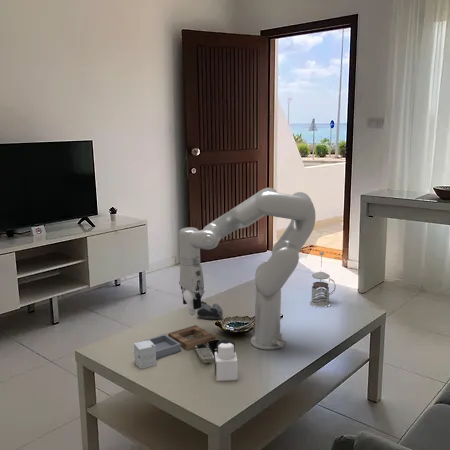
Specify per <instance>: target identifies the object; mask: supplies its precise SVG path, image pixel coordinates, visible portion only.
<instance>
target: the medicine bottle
mask: <svg viewBox="0 0 450 450" xmlns="http://www.w3.org/2000/svg"><path fill="white" fill-rule="evenodd" d="M238 365H239V364H238V357H237V353H236V343H235V342H234V341H233V340H230V339H222V340H219V341H217V343H216V351H214V375H215V381H216V382H222V381H225V382H226V381H237V380H238V379H239V376H238V375H239V374H238V373H239V372H238V371H239V369H238V367H239V366H238Z"/></svg>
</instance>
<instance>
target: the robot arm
mask: <svg viewBox="0 0 450 450" xmlns="http://www.w3.org/2000/svg"><path fill="white" fill-rule="evenodd" d="M315 208H316V207H315V206H314V203H313V201H312V199H311V198H310V196H309V195H308V194H307V193H305V192H302V191H298V192H295V193H293V194H286V193H281V192H278V191H277V190H276V189H274V188H272V187H265V188H263V189H260V190H259V191H257V192H256V193H255V194H253V195H251V196H249V198H247V199H245V200H244V201H243V202H240V203H239V204H238V205H236V206H235V207H233V208H231V209H230V210H229V211H227V212H225V213H223V214H222V215H220V216H219V217H217V218H216V219H213V221H211V222H209V223H208V224H207V225H205V226H204V227H203V229H201V230H199V229H198V228H197V227H191V226H190V227H183V228H180V230H179V232H178V238H179V239H178V240H179V261H180V265H179V266H180V268H179V281H178V284H179V287H180V289H181V293H182V294H181V295H183V293H184V291H185V290H186V289H187V290H189V291H191V292H193V296H194V299H193V308H194V309H196V310H197V309H199V308H201V302H202V298H203V296H204V293H205V280H204V279H205V278H204V272H203V267H202V265H201V250H202V249H203V250H212V249H215V248H216V247H218V245H219V243H220V240H222V239H223V238H225V237H226V236H228V235H229V234H231V233H232V232H234V231H237V230H239V229H245V228H248V227H249V226H251V225H252V224H255V223H256V222H258V221H259V220H260V219H262V218H263V217H265V216H270V217H274V218H275V217H276V218H282V219H287V220H290V222H289V224H288V225H287V227H286V229H285V231H284V232H283V233H282V235H281V236H280V238H278V240H277V241H276V243H275V244H274V245H273V246H272V251H271V256H270V257H269V259H268V260H267V261H265V262H262V263H261V264H260V265H258V267H257V268H256V270H255V274H254V276H255V277H254V285H255V301H254V302H255V305H254V306H255V307H254V309H255V311H254V313H255V316H254V317H255V319H254V322H255V323H254V332H255V333H254V335H253V336H252V337H251V338H250V343H251V345H252V346H254V348H257V349H261V350H267V351H268V350H271V351H272V350H276V349H280V348H284V346H285V345H286V343H287V340H286V339H284V338H283V333H281V304H282V288H283V286H284V285H285V284H286V282H287V281H288V279H289V278H290V277H291V275H292V274H293V273H294V272H295V269H296V268H297V266H298V264H299V260H300V252H301V250H302V249H303V247H304V245H305V244H306V243H307V240H308V239H309V238H310V236H311V234H312V232H313V230H314V227H315V224H316V209H315ZM196 289H197V290H196ZM196 292H198V294H197V295H196ZM182 304H183V305H187V303H186V301H185V300H184V297H183V296H182Z"/></svg>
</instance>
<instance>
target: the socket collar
mask: <svg viewBox="0 0 450 450" xmlns="http://www.w3.org/2000/svg"><path fill="white" fill-rule="evenodd" d="M167 336H169V337H170V338H172V339H174V340H175V341H177V342H179V343H180V344H181V349H183V350H185V351H186V352H188V351H191V350H194V349H196V348H195V346H196V345H198V344H206V345H208V344H207V343H208V342H209V341H214V340H215V341H216V335H215V334H213V333H211V332H209V331H208V330H206V329H204V328H203V327H200V326H199V325H196V324H194V325H191V326H189V327H188V326H187V327H185V328H181V329H178V330H174V331H171V332H169V333H167ZM191 336H195V338H192V339H187V338H189V337H191Z"/></svg>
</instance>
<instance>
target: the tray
mask: <svg viewBox="0 0 450 450" xmlns="http://www.w3.org/2000/svg"><path fill="white" fill-rule="evenodd" d="M147 340H150V341H151V342H153V344H154V345H155V346H156V361H157V360H160V359H162V358H165V357H169V356H171V355H174V354H179V353H181V352H182V348H181V344H180V343H179V342H177V341H175V340H174V339H172V338H170V337H169V336H168V334H162V335H161V334H160V335H157V336H154V337H152V338H151V337H150V338H148V339H144V340H142V341H147ZM142 341H140V342H142Z"/></svg>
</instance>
